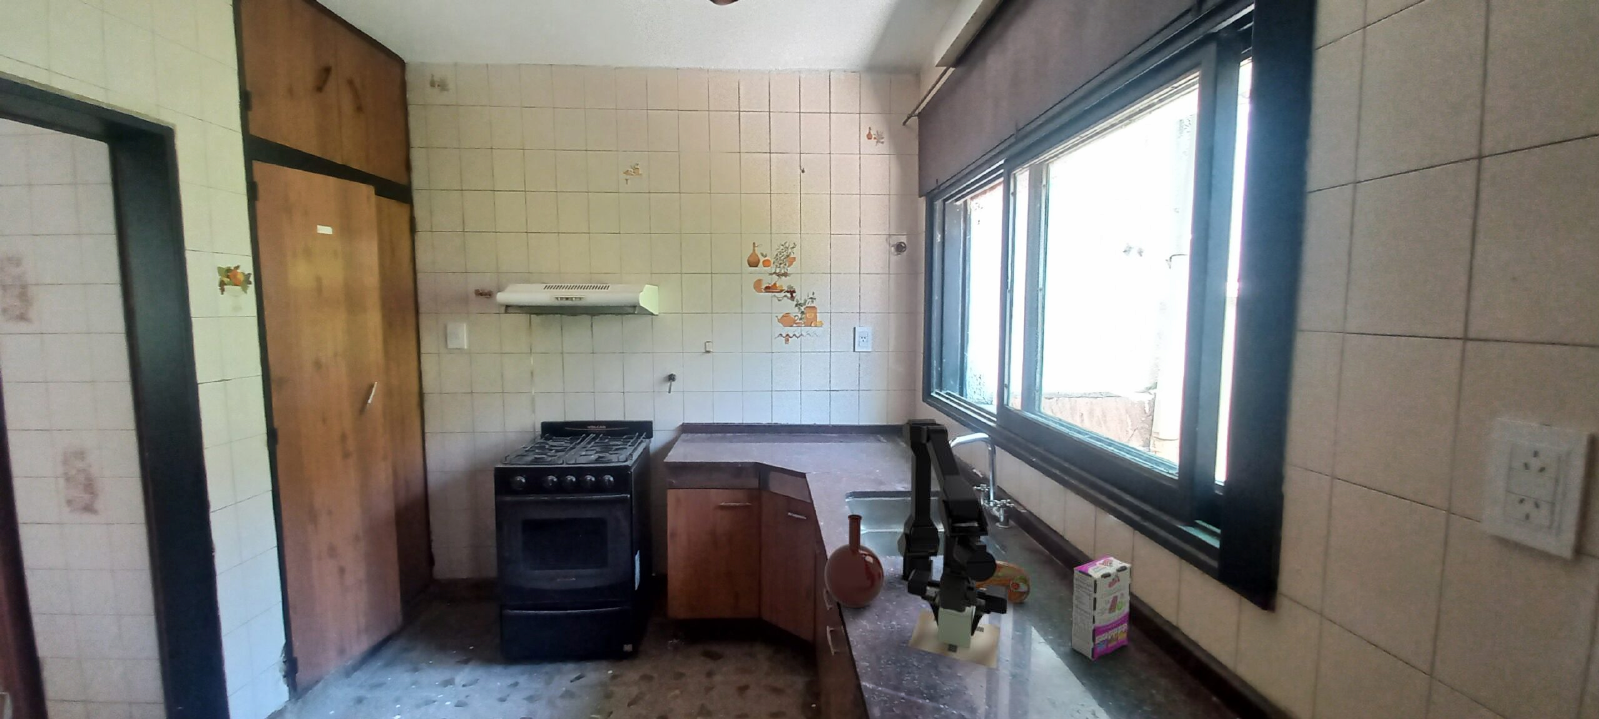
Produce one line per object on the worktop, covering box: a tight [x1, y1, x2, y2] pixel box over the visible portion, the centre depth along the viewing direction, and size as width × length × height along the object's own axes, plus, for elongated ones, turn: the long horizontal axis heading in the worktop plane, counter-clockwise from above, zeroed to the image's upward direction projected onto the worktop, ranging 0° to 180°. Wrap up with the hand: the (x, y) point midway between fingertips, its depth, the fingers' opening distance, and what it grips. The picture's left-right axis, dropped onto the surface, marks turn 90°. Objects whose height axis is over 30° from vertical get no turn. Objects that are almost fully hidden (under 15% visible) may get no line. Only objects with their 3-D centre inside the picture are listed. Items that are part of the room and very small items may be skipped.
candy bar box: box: [1070, 555, 1132, 661], centre depth 103 cm, size 11×5×16 cm, turn 117°
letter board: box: [908, 608, 1001, 669], centre depth 106 cm, size 16×14×1 cm
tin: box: [972, 560, 1031, 604], centre depth 121 cm, size 15×3×8 cm, turn 62°
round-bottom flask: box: [824, 513, 885, 609], centre depth 118 cm, size 13×13×20 cm
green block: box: [938, 606, 975, 649], centre depth 106 cm, size 6×6×6 cm
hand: (955, 630), depth 106 cm, fingers closed on green block, 6 cm apart
